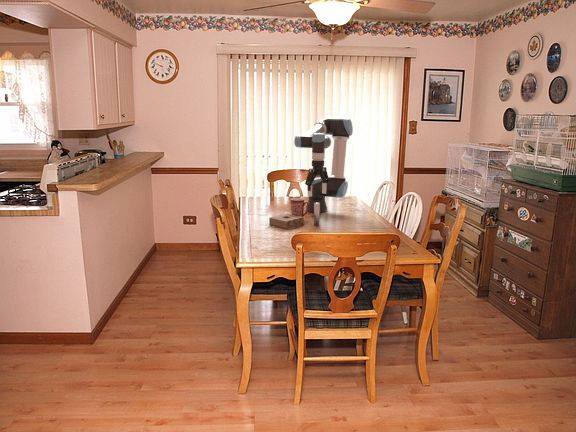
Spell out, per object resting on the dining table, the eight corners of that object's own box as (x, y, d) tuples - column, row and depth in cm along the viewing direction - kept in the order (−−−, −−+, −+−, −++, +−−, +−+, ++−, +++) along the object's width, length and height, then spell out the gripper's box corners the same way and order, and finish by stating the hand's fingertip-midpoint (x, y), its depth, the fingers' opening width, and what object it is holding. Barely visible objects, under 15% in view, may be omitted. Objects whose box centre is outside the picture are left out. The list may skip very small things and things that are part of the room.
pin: (316, 224, 294) (316, 202, 291) (320, 225, 292) (320, 203, 289) (312, 225, 292) (313, 203, 289) (316, 226, 290) (317, 203, 287)
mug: (288, 220, 303) (289, 199, 300) (292, 217, 312) (292, 197, 309) (308, 221, 300) (308, 201, 297) (310, 218, 309) (311, 198, 306)
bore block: (287, 221, 302) (287, 213, 301) (303, 225, 292) (303, 217, 291) (269, 225, 290) (269, 217, 289) (286, 229, 281) (286, 221, 280)
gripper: (326, 158, 294) (325, 191, 299) (299, 160, 276) (298, 196, 281) (335, 158, 289) (334, 193, 294) (309, 161, 272) (308, 198, 276)
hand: (317, 194), depth 288 cm, fingers open, 13 cm apart
